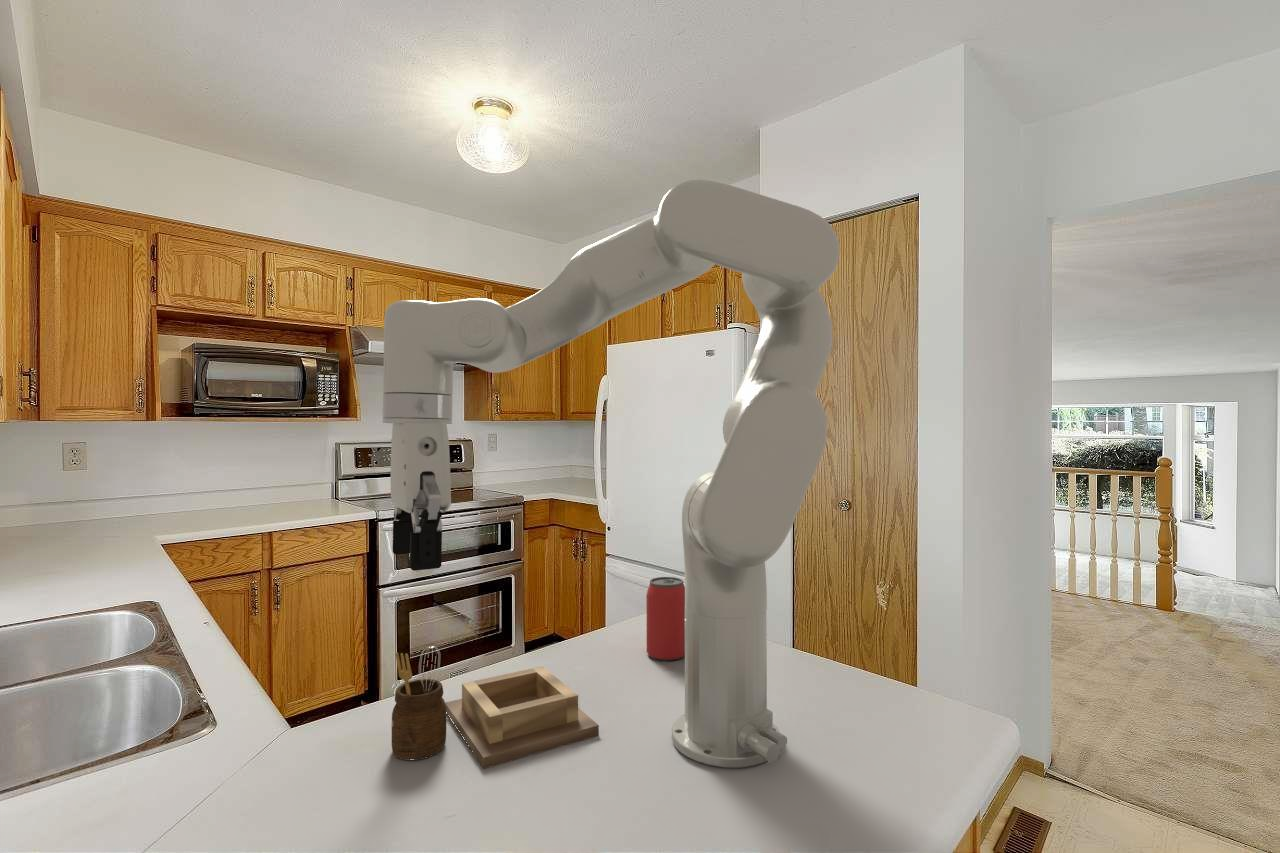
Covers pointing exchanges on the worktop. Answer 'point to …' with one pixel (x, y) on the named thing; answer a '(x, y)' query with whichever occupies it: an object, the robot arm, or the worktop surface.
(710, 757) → the robot arm
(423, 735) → the utensil holder
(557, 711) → the socket board
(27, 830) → the worktop surface
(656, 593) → the beer can
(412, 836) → the worktop surface
